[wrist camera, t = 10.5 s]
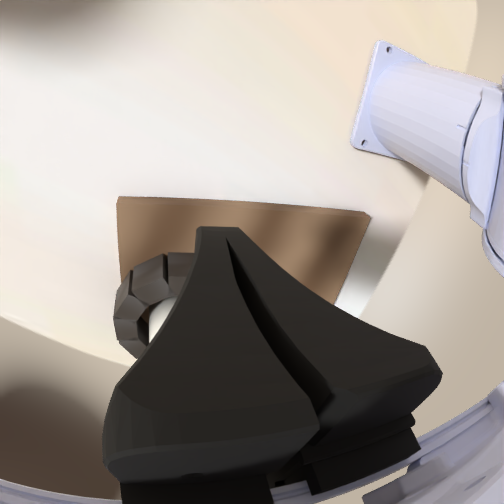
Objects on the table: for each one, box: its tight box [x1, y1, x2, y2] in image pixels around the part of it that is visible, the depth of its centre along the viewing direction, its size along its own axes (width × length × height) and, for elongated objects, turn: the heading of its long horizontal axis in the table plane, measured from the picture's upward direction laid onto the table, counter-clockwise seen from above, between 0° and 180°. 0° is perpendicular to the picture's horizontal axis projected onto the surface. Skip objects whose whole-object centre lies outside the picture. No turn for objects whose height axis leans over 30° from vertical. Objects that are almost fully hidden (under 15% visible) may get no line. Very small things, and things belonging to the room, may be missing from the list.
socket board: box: [113, 197, 370, 359], centre depth 23 cm, size 18×14×4 cm
